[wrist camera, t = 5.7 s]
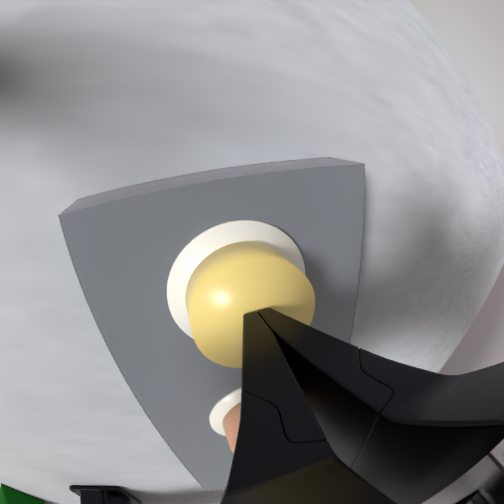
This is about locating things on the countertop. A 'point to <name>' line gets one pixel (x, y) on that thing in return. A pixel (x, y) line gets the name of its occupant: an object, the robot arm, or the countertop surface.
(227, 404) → the button console
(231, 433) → the terracotta button
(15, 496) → the milk carton
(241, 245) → the mustard button
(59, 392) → the countertop surface
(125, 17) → the countertop surface
